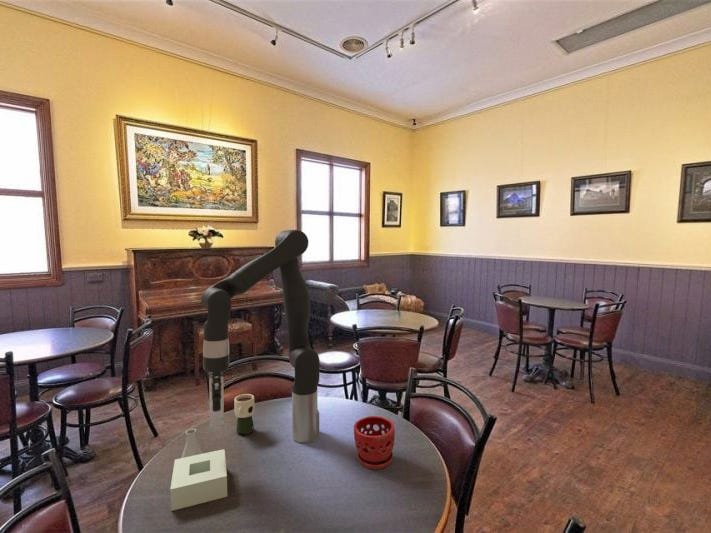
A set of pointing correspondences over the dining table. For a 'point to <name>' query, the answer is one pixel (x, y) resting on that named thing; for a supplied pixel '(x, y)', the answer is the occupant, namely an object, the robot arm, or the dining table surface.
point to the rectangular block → (217, 416)
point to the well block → (198, 479)
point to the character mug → (244, 413)
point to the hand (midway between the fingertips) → (216, 407)
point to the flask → (191, 444)
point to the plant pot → (374, 441)
